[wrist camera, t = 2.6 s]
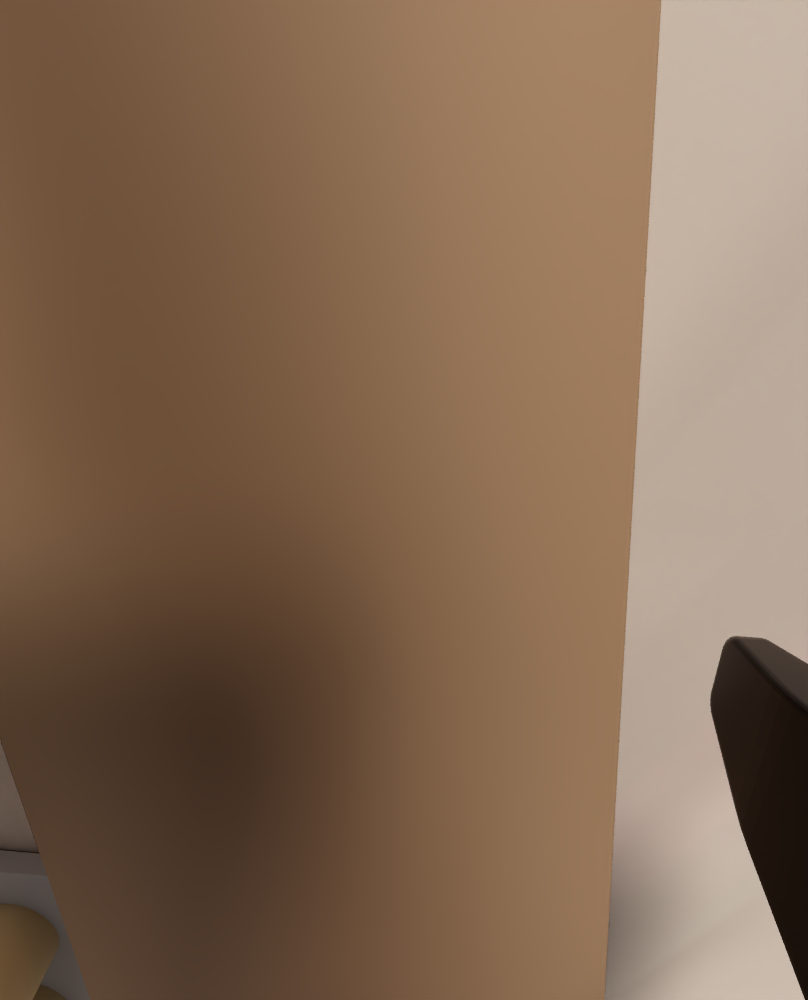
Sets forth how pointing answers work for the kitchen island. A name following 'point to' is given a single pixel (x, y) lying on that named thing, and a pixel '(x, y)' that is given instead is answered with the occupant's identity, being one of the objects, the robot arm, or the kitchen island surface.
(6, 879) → the stand
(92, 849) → the board
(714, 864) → the kitchen island surface
